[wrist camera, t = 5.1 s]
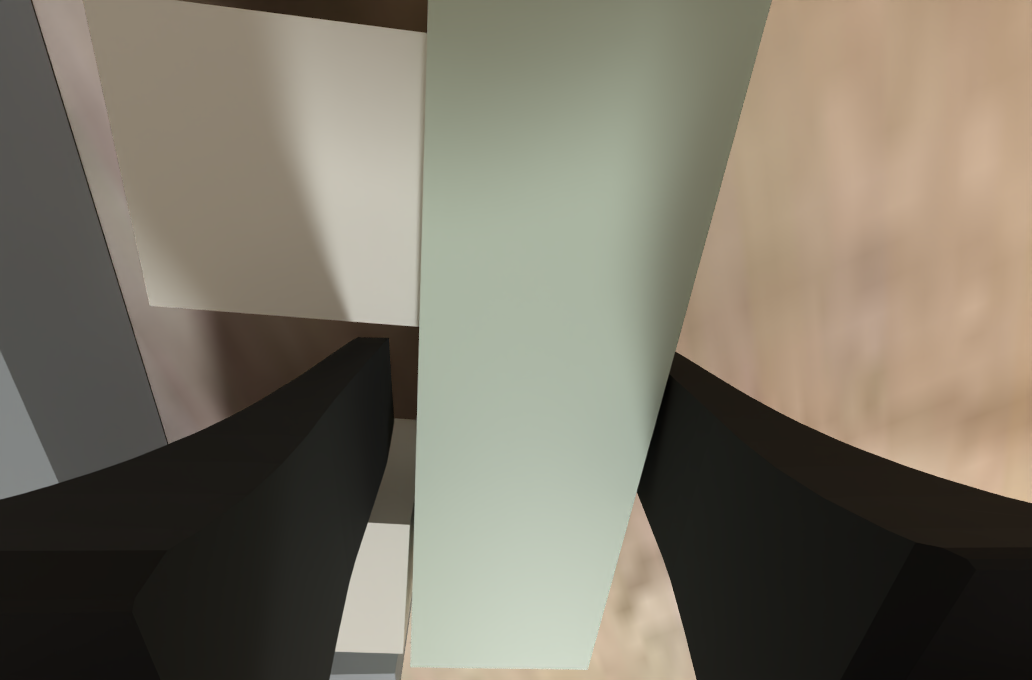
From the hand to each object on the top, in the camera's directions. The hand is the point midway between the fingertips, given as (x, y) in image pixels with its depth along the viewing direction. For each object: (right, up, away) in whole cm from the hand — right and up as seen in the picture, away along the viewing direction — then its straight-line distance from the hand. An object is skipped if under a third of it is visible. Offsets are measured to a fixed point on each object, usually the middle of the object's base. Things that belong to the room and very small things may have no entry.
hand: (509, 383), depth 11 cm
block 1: (-3, +5, -1) cm, 6 cm away
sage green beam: (0, +2, +1) cm, 2 cm away
